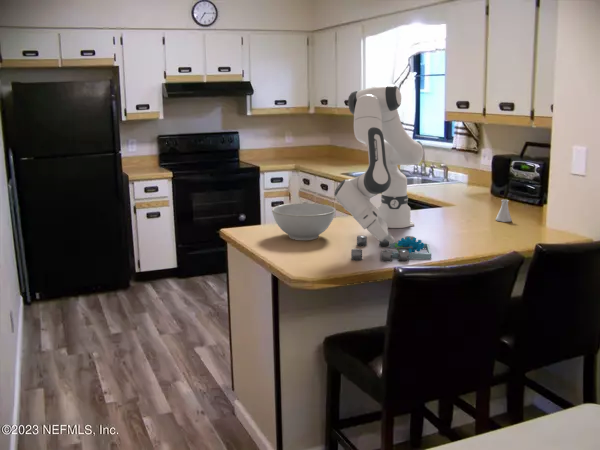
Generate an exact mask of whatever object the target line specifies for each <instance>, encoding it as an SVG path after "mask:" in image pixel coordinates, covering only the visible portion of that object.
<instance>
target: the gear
mask: <svg viewBox="0 0 600 450" xmlns="http://www.w3.org/2000/svg"><path fill="white" fill-rule="evenodd" d="M422 241H423V240H421V239H418V240H417V237H415V238H413V240H411V239H410V237H407V238H406V239H405V237H402V238H401V239H400V240H399V239H398V241H397V243H398V244H397V243H395V247H397V248H396V250H397V251H398V250H408V251H409V253H416V251H417V253H420V252H421V250H424V249H423V246H424V242H422ZM419 243H421V244H419Z"/></svg>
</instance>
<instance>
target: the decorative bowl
mask: <svg viewBox="0 0 600 450" xmlns="http://www.w3.org/2000/svg"><path fill="white" fill-rule="evenodd" d="M336 211H337V210H336V208H335V207H333V206H330V205H327V204H321V203H307V202H305V203H304V202H300V203H296V202H295V203H286V204H281V205H280V204H279V205H276V206H274V207H273V208H271V213H272V217H273V219H274V222H275V224H276V225H277V226H278V227H279V228H280V230H281V231H283V232H284V233H285V234H287V235H288V236H289V237H288V238H290V239H292V240H294V239H295V240H294V241H312V240H316V239H318V238H319V235H321V234H322V233H324V232H325V231H326V230H327V229H328V228H329V226H331V224H332V222H333V220H334V219H335V214H336Z"/></svg>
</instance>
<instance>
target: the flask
mask: <svg viewBox="0 0 600 450" xmlns="http://www.w3.org/2000/svg"><path fill="white" fill-rule="evenodd" d="M500 200H501V201H500V202H501V206H500V209H499V211H498V213H497V216H496V218H495V219H494V220H495V221H497V222H501V223H509V222H512V221H513V220H512V215H511V213H510V209H509V201H510V200H508V199H500Z"/></svg>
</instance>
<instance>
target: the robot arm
mask: <svg viewBox="0 0 600 450" xmlns="http://www.w3.org/2000/svg"><path fill="white" fill-rule="evenodd" d="M401 103H402V94H401V91H400V89H399V87H398V86H397V85H395V84H387V85H376V86H371V87H368V88H364V89H363V88H362V89H361V90H355V91H353V92H352V91H351V93H350V95H349V96H348V98H347V104H348V109H349V112H350V114H352V115H353V133H354V137H355V139H356V140H357V141H358V142H359V143H362V144H364V145H366V146H367V154H368V166H367V169H366V171H365V172H364V173H362V174H360V175H358V176H356V177H353V178H350V179H343V180H342V181H341V182H340V183H339V184H338V185H337V187H336V189H335V190H334V197H335V199H336V200H337V201H338V203H339V204H340V205H341V207H342V208H343V209H344V210H345V211H346V212H348V213H349V214H351V215H352V218H353V219H354V220H355V221H356V222H357V223H358V224H359V225H360V226H361V228H362V229H364V230H367V232H369V234H371V235H372V236H373V237H374V238H375V239H377V241H383V240H384V239H386V240H388V241H389V244H390V243H391V244H392V243H394V242H395V237H393V236H392V234H391V232H390V231H389V230H388V229H389V228H390V229H402V228H409V227H414V226H415V223H414V222H413V221H412V220H411V212H412V211H411V207H410V206H409V205H408V200H409V196H408V178H407V176H406V175H405V174H404V173H402V171H400V169H399V166H406V167H407V166H415V165H418V164H420V163H421V162H422V160H423V157H424V149H423V146H422V144H421V143H419V142H418V141H416V140H414V139H413V138H412V137H411V136H410V135H409V133H407V131H406V130H405V128H404V127H403V123H402V121H401V117H400V114H399V112H398V111H399V110H398V109H399V107H400V106H401ZM380 194H381V196H380V202H381V204H379V205H378V207H376V205H374V204H373V202H371V198H375V197H376V196H377V195H380Z"/></svg>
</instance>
